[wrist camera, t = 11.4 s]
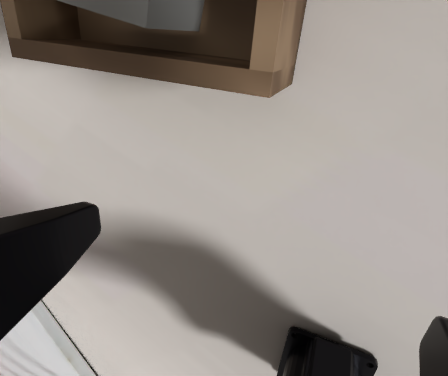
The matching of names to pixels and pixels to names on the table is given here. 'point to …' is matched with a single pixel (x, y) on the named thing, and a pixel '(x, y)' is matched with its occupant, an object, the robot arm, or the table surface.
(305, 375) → the robot arm
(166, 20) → the dice cube
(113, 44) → the open wooden box
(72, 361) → the file sorter
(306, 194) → the table surface
